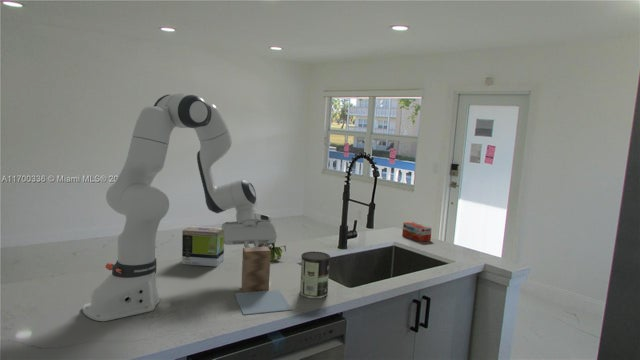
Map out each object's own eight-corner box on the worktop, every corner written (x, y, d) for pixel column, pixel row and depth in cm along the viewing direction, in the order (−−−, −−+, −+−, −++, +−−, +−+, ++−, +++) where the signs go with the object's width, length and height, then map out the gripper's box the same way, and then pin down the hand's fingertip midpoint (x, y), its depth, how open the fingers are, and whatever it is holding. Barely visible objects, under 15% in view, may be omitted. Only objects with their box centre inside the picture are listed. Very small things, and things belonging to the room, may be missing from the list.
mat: (234, 294, 152) (234, 293, 152) (278, 290, 158) (278, 289, 158) (243, 315, 137) (243, 314, 137) (292, 310, 142) (292, 309, 142)
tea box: (224, 260, 189) (225, 227, 187) (216, 267, 179) (217, 232, 177) (190, 257, 190) (191, 224, 188) (181, 264, 180) (181, 229, 179)
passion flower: (258, 270, 196) (248, 243, 200) (282, 262, 202) (272, 236, 206) (266, 262, 186) (255, 234, 190) (291, 254, 192) (280, 226, 196)
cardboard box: (244, 292, 154) (245, 251, 153) (241, 287, 159) (242, 247, 157) (268, 290, 158) (270, 250, 156) (265, 285, 162) (267, 246, 161)
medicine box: (430, 241, 243) (432, 227, 242) (420, 242, 238) (421, 228, 237) (411, 234, 255) (412, 221, 254) (401, 235, 251) (402, 222, 250)
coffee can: (325, 287, 164) (327, 251, 162) (330, 298, 154) (332, 259, 152) (297, 287, 162) (299, 251, 160) (301, 298, 152) (303, 259, 150)
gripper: (222, 217, 165) (225, 250, 157) (274, 216, 172) (280, 247, 164) (220, 226, 170) (223, 258, 162) (271, 225, 177) (276, 255, 169)
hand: (252, 252), depth 163 cm, fingers closed
